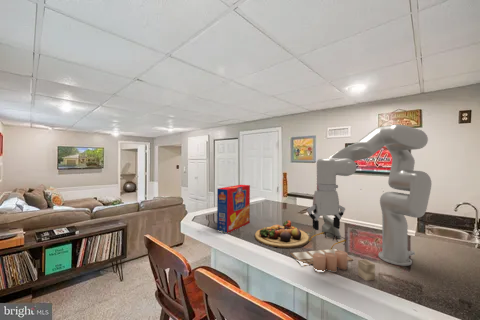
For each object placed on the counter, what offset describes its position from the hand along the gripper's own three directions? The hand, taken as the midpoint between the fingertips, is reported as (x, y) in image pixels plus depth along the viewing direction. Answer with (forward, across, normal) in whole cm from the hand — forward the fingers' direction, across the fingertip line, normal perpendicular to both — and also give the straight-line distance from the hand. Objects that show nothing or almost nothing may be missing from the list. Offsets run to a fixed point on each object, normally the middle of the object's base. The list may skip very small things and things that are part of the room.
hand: (326, 228), depth 88 cm
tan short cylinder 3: (+18, -8, -2) cm, 20 cm away
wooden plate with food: (+18, +4, -39) cm, 43 cm away
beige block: (+18, -13, +8) cm, 23 cm away
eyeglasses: (+19, -18, -26) cm, 37 cm away
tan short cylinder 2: (+18, -2, -1) cm, 18 cm away
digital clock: (+18, -29, -38) cm, 52 cm away
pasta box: (+18, +28, -64) cm, 72 cm away
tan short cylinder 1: (+18, +2, -1) cm, 18 cm away
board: (+18, -4, -11) cm, 22 cm away
